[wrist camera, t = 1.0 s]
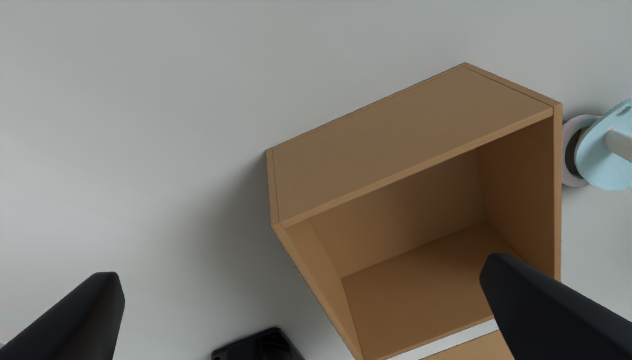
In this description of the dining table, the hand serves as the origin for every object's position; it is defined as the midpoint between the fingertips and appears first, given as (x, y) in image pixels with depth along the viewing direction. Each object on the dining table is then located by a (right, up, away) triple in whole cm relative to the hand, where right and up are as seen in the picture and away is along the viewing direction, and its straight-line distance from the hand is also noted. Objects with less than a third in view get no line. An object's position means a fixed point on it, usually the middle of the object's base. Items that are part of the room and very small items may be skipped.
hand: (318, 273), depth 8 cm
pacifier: (+19, +5, +16) cm, 25 cm away
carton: (+5, +2, +15) cm, 16 cm away
